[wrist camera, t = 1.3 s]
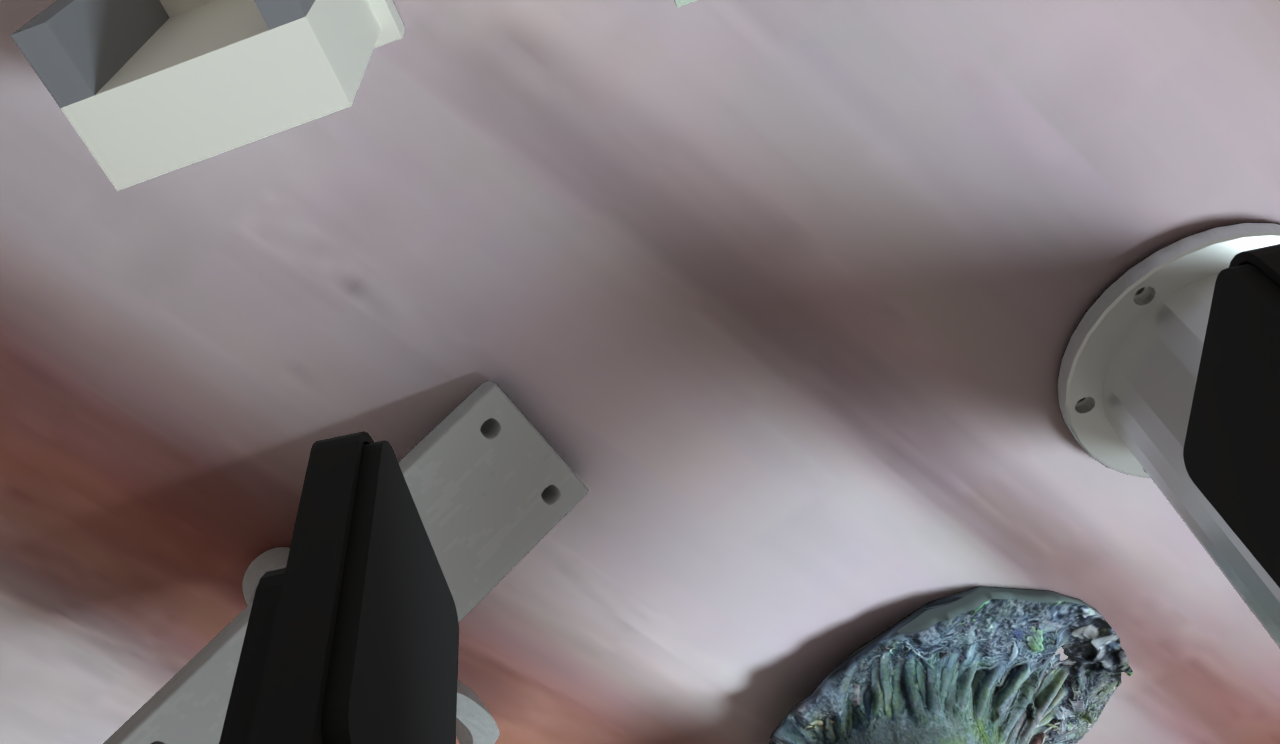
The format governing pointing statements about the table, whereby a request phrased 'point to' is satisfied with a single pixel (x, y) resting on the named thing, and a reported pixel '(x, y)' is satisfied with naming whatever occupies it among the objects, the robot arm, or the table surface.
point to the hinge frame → (198, 72)
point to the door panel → (683, 2)
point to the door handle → (458, 531)
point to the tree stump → (970, 676)
